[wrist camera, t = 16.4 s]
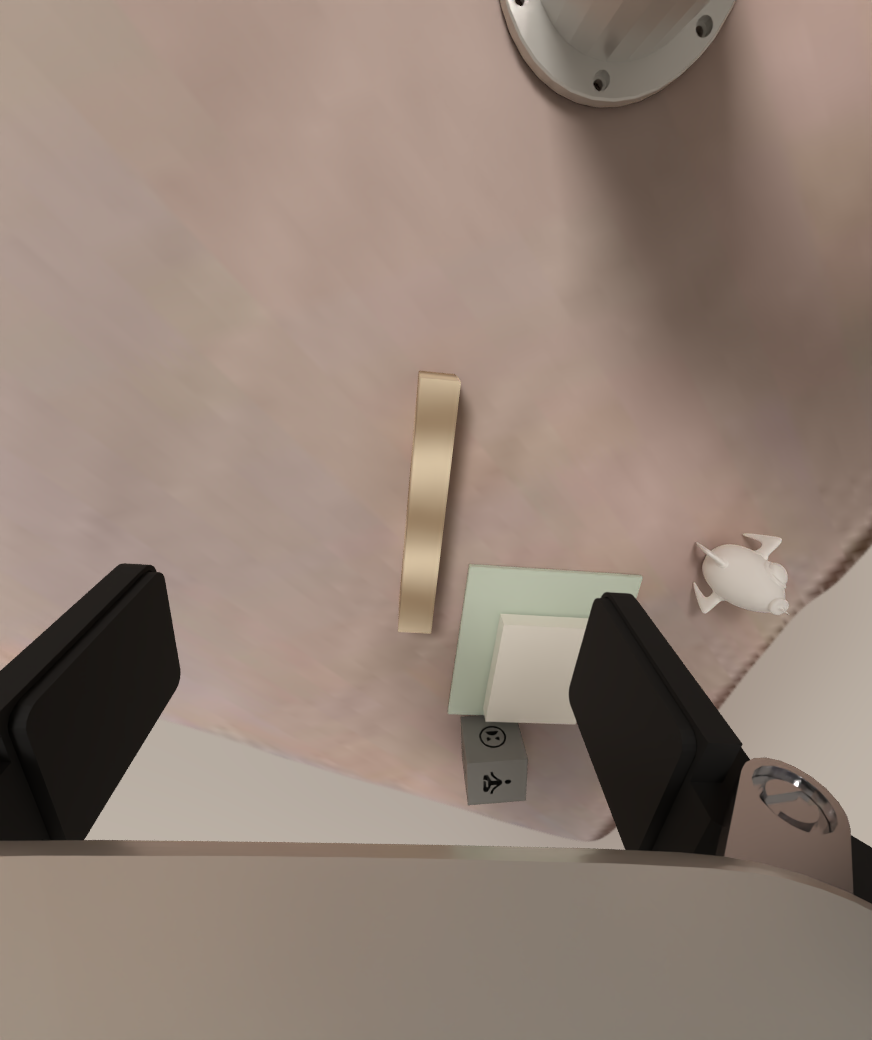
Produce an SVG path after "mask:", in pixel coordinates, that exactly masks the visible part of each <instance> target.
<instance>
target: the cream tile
mask: <svg viewBox="0 0 872 1040" xmlns="http://www.w3.org/2000/svg"><path fill="white" fill-rule="evenodd" d="M587 622H588V618H572V617H554V616H536V615H518V614H500V618H499V624H498V629H497V635H496V640H495V645H494V651H493V656H492V662H491V667H490V673H489V678H488V684H487V689H486V694H485V700H484V705H483V711H484V716H485V721H486V722H514V723H544V724H574V725H576V719H575V716H574V713H573V711H572V708H571V706H570V702H569V686H570V683H571V679H572V675H573V672H574V668H575V665H576V661H577V658H578V654H579V650H580V647H581V643H582V640H583V636H584V633H585V629H586V626H587Z"/></svg>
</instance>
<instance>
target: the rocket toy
mask: <svg viewBox="0 0 872 1040" xmlns="http://www.w3.org/2000/svg"><path fill="white" fill-rule="evenodd" d="M742 535H744V536H746V537H749V538H752V539H755V540H758V541H760V542H761V543H762V546H761V547H760V548H759V549H758V550H754V551H753V550H751V549H749V548H746V547H743V546H740V545H734V544H725V545H721V546H719V547H716V548H714V549H712V550H711V551H710V550H709V549H707V548H706V547H704V546H703V545H701V544H699V543H697V542H696V544H697V546H698V547H699V548H700V549H701V550H702V551H703V552H704V553H705V554H707V555H706V557H705V559H704V562H703V566H702V570H703V575H704V577H705V580H706V581H707V583H708V584H709V586H710V587H711V589H712V591H713V593H712V594H711V595H710V596H709V597H705V596H704V595H703V594H702V593H701V591H700V590H699V588H698V586H697V585H696V583H695V582H693V585H694V590H695V594H696V597H697V601H698V604H699V607H700V609H701V611H702V612H703V613H707V612H709V611H710V610H711V609H712V608H713V607H715V606H716V605H717V604H718V603H719V602H721V601H725V600H726V601H727V602H729V603H731V604H733V605H735V606H737V607H740V608H743V609H746V610H750V611H755V612H763V613H768V612H771V613H772V614H774V615H781V614H783V613H784V612H785V613H786V614H788V613H787V612H786V610H787V609H788V607H789V603H788V601H787V600H785V590H784V589H785V588H786V583H787V580H788V575H787V572H786V570H785V568H784V567H783V566H782V565H780V564H778V563H772V562H769V561H767V560H768V556H769V555H770V554H771V553H772V552H773V551H774V550H775V549H776V548H777V547H778V546H779V545H780V544H781V542H782V539H781V538H779V537H775V536H768V535H760V534H742ZM788 615H789V614H788Z"/></svg>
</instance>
